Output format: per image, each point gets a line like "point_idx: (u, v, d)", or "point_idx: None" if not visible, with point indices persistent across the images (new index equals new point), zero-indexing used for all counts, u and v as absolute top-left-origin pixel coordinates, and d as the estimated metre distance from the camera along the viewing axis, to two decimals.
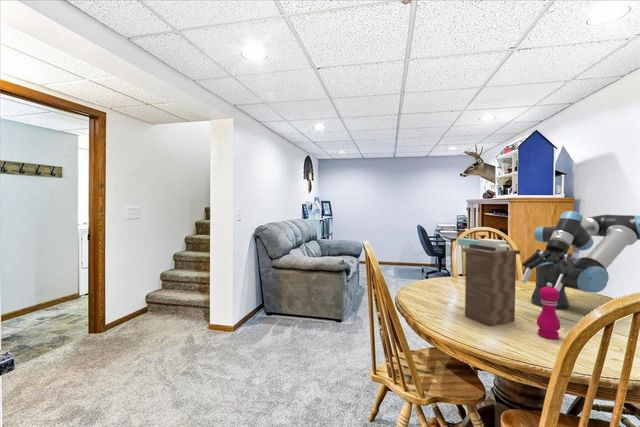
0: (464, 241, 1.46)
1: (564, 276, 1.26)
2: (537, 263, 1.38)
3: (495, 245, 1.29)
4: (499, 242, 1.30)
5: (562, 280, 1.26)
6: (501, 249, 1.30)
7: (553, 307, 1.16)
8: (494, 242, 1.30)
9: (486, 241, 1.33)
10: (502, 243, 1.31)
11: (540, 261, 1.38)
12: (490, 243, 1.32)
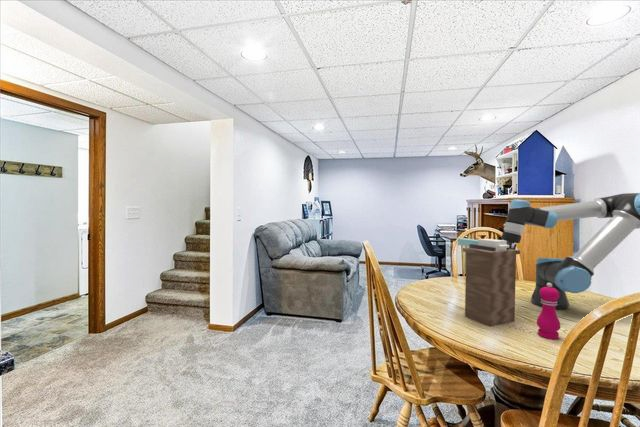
0: (464, 241, 1.46)
1: None
2: None
3: (495, 245, 1.29)
4: (499, 242, 1.30)
5: None
6: (501, 249, 1.30)
7: (553, 307, 1.16)
8: (494, 242, 1.30)
9: (486, 241, 1.33)
10: (502, 243, 1.31)
11: None
12: (490, 243, 1.32)
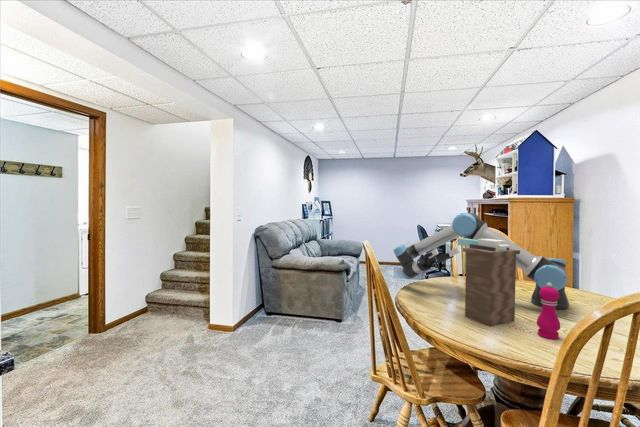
0: (464, 241, 1.46)
1: (428, 256, 1.59)
2: (442, 257, 1.67)
3: (495, 245, 1.29)
4: (499, 242, 1.30)
5: (430, 255, 1.58)
6: (501, 249, 1.30)
7: (553, 307, 1.16)
8: (494, 242, 1.30)
9: (486, 241, 1.33)
10: (502, 243, 1.31)
11: (439, 258, 1.68)
12: (490, 243, 1.32)
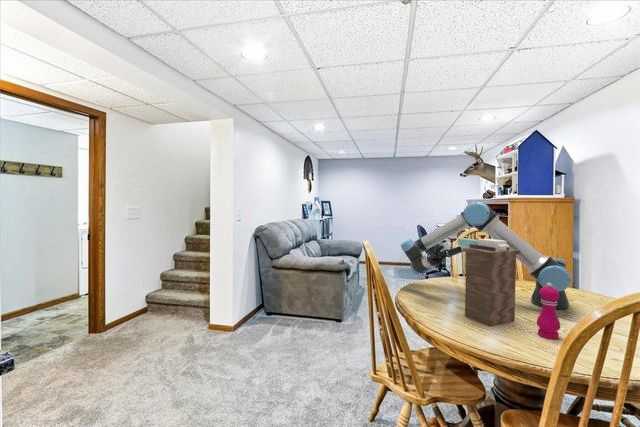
0: (464, 241, 1.46)
1: (439, 250, 1.51)
2: (453, 250, 1.59)
3: (495, 245, 1.29)
4: (499, 242, 1.30)
5: (442, 248, 1.50)
6: (501, 249, 1.30)
7: (553, 307, 1.16)
8: (494, 242, 1.30)
9: (486, 241, 1.33)
10: (502, 243, 1.31)
11: (451, 252, 1.60)
12: (490, 243, 1.32)
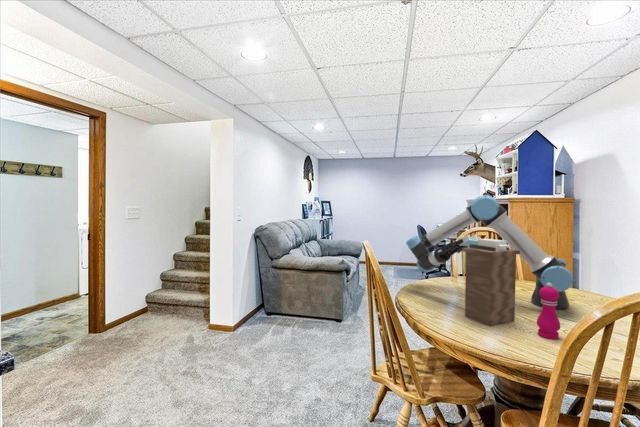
0: None
1: (458, 244, 1.47)
2: (459, 246, 1.53)
3: (495, 245, 1.29)
4: (499, 242, 1.30)
5: (461, 242, 1.45)
6: (501, 249, 1.30)
7: (553, 307, 1.16)
8: (494, 242, 1.30)
9: (486, 241, 1.33)
10: (502, 243, 1.31)
11: (456, 248, 1.54)
12: (490, 243, 1.32)
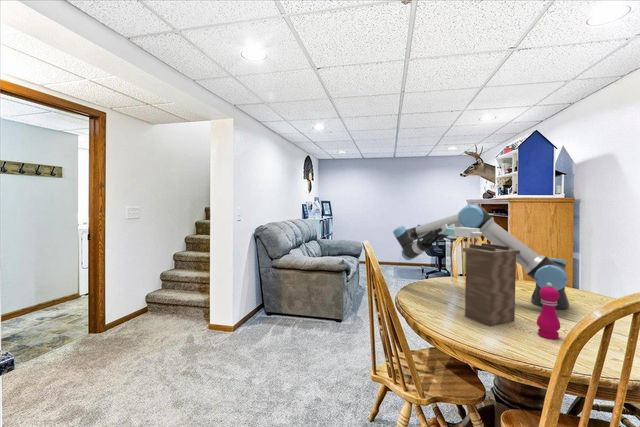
0: None
1: (438, 232, 1.59)
2: (439, 235, 1.65)
3: (469, 232, 1.41)
4: (472, 229, 1.42)
5: (440, 231, 1.57)
6: (474, 236, 1.42)
7: (553, 307, 1.16)
8: (468, 229, 1.42)
9: (461, 229, 1.45)
10: (475, 230, 1.42)
11: (437, 237, 1.66)
12: (465, 230, 1.43)
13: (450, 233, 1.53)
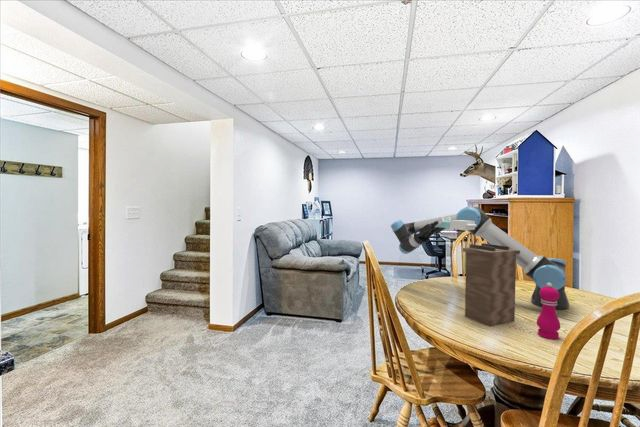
0: None
1: (434, 225, 1.61)
2: (435, 229, 1.68)
3: (464, 225, 1.44)
4: (468, 222, 1.44)
5: (436, 224, 1.60)
6: (469, 228, 1.45)
7: (553, 307, 1.16)
8: (463, 222, 1.45)
9: (457, 221, 1.48)
10: (470, 223, 1.45)
11: (433, 230, 1.69)
12: (460, 222, 1.46)
13: (446, 226, 1.56)
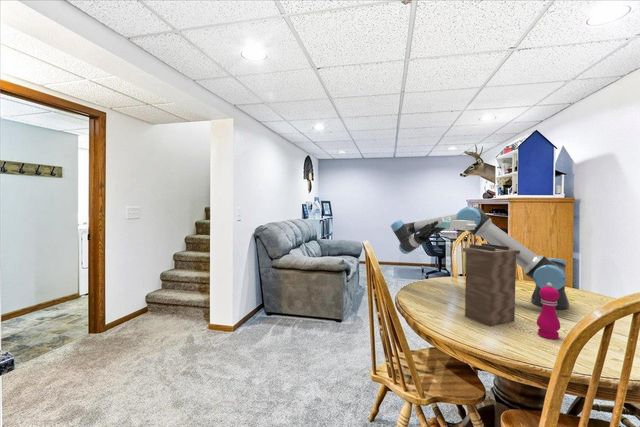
0: None
1: (434, 225, 1.61)
2: (435, 229, 1.68)
3: (464, 225, 1.44)
4: (468, 222, 1.44)
5: (436, 224, 1.60)
6: (469, 228, 1.45)
7: (553, 307, 1.16)
8: (463, 222, 1.45)
9: (457, 221, 1.48)
10: (470, 223, 1.45)
11: (433, 230, 1.69)
12: (460, 222, 1.46)
13: (446, 226, 1.56)
